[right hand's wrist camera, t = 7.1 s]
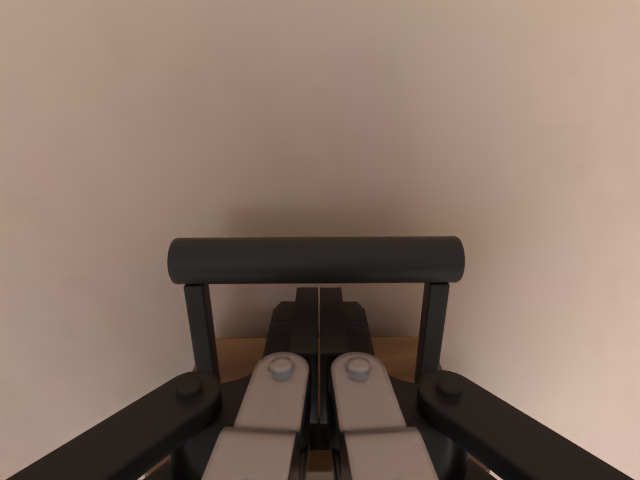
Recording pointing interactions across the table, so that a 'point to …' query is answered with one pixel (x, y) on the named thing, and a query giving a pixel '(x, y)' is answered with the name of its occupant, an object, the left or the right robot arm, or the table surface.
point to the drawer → (316, 267)
